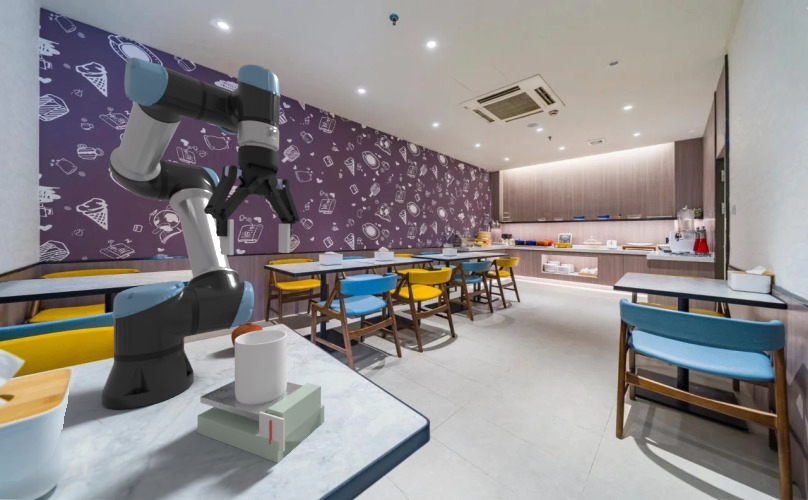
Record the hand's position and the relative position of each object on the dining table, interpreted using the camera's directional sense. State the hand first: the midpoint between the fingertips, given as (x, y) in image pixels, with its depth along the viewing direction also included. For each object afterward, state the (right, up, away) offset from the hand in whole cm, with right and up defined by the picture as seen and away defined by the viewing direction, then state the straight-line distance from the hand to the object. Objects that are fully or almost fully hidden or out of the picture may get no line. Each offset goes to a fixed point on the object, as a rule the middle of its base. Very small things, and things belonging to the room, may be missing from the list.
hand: (258, 253), depth 60 cm
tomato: (-18, -30, +30) cm, 46 cm away
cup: (+3, -25, -7) cm, 26 cm away
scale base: (+5, -31, -8) cm, 32 cm away
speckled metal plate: (+3, -28, -8) cm, 29 cm away
